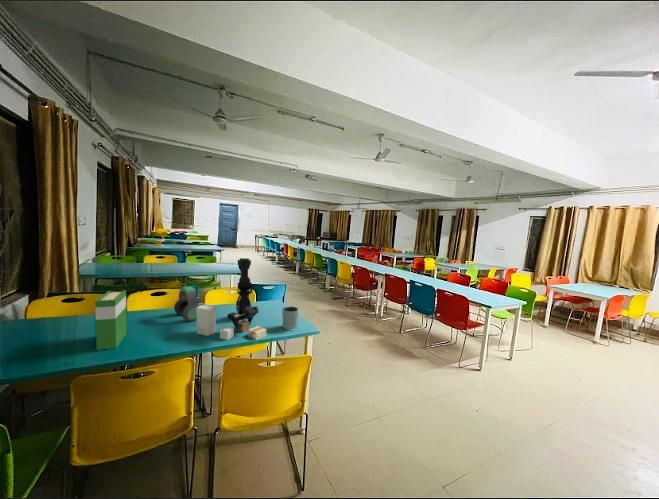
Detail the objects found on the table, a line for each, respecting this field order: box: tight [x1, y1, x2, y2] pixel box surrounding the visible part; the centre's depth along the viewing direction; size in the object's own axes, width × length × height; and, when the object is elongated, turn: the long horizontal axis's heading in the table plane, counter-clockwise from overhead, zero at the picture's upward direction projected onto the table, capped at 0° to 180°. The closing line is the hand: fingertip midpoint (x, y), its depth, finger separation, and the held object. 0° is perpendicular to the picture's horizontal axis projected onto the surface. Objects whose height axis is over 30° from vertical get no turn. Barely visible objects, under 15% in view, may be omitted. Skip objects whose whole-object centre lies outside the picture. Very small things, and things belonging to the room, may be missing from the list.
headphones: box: [173, 286, 200, 322], centre depth 172 cm, size 19×11×20 cm, turn 48°
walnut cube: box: [236, 319, 250, 333], centre depth 159 cm, size 5×5×5 cm
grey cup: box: [281, 306, 299, 331], centre depth 167 cm, size 10×10×12 cm
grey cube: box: [219, 326, 235, 341], centre depth 149 cm, size 5×5×5 cm
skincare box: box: [196, 304, 217, 337], centre depth 152 cm, size 8×7×16 cm
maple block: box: [247, 325, 267, 340], centre depth 153 cm, size 7×7×4 cm
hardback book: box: [94, 289, 127, 351], centre depth 135 cm, size 18×7×24 cm, turn 24°
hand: (243, 327), depth 159 cm, fingers open, 9 cm apart
